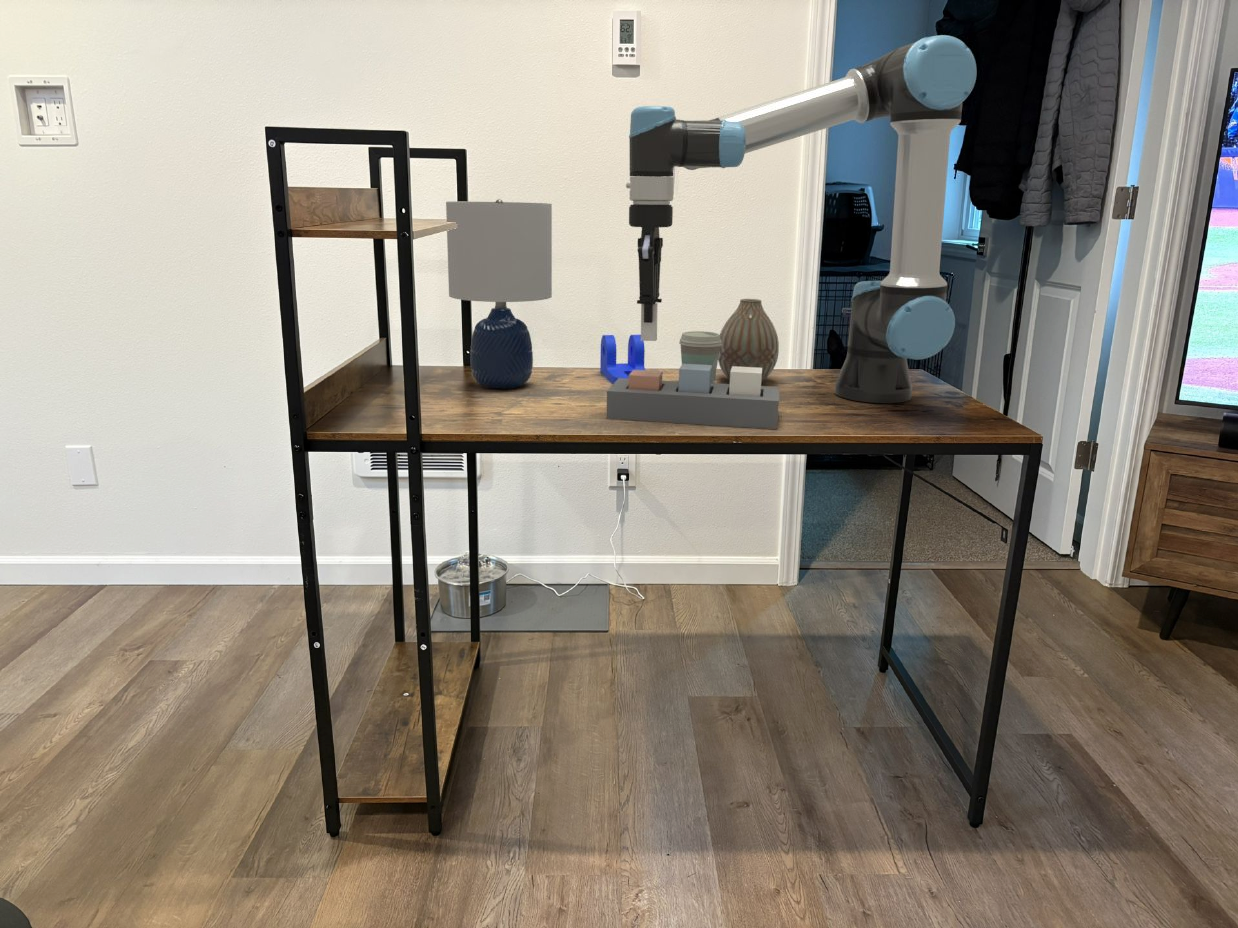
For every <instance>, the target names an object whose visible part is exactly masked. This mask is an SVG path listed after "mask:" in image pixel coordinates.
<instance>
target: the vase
mask: <svg viewBox="0 0 1238 928" xmlns="http://www.w3.org/2000/svg"><path fill="white" fill-rule="evenodd" d="M719 335H720V339H721V341H722V342H721V344H722V345H721V346H720V351H719V357H718V365H719V367H720V370H721V371H722V373H723V374H724V375H725V376H726V378H727V379H729V380H730V371H731V368H732V366H737V367H756V368H762V379H761V383H762V382H763V381H764V380H766V378H768V377H769V376H770V375H771V374H772V372H773V371H774V368H775V367H776V364H777V362H778V359H779V352H780V351H779V349H780V348H779V346H780V342H779V336H778V333H777V330H776V328H775V326H774V324H773V322H772V320H771V319H770V317H769V315H768V314H767V313H766V311H765V310H764V307H763V305H762V300H761V299H757V298H741V299H740V301H739V304H738V306H737V308H736V309H735V310H734V312H733V313H732V314H731V315H730V317H728V319H727V320H726V322H725V323H724V325H723V327H722V329H721V331H720V333H719Z"/></svg>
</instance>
